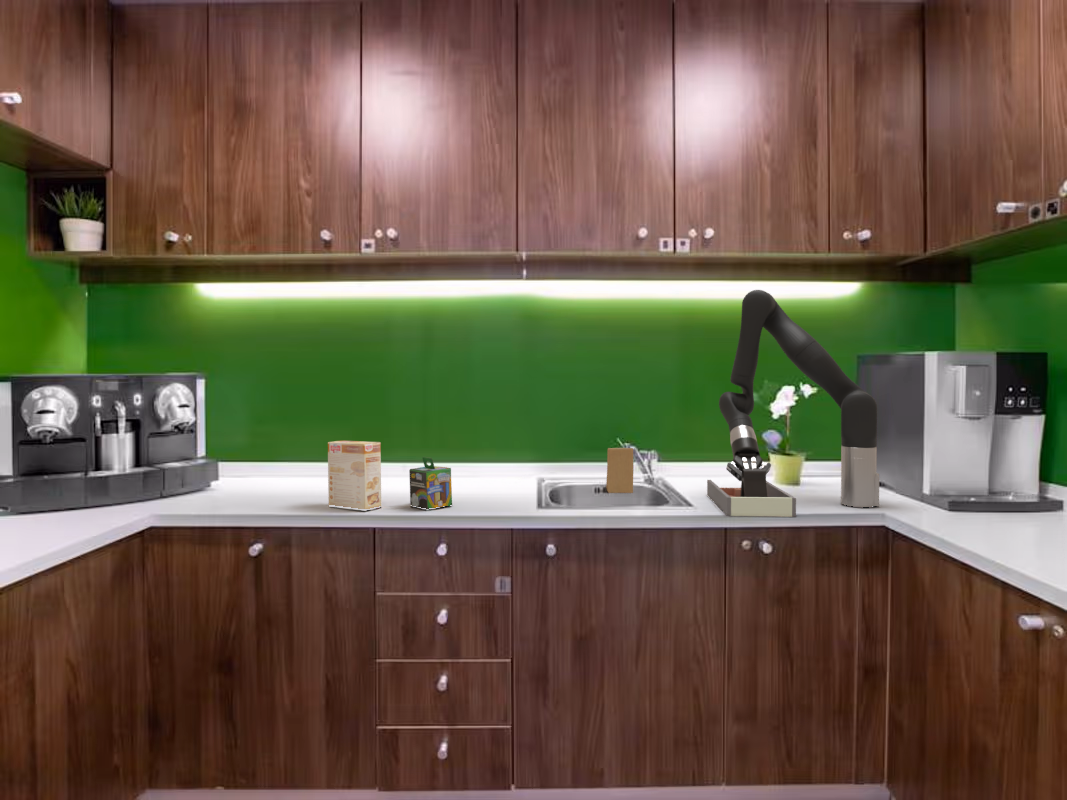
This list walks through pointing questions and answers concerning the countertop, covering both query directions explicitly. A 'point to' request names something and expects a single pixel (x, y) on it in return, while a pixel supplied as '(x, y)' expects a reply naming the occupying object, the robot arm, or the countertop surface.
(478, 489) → the countertop surface
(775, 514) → the open storage tray
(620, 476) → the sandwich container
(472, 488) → the countertop surface
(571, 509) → the countertop surface
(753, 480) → the door stopper
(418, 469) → the chalk box
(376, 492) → the coffeecake box
